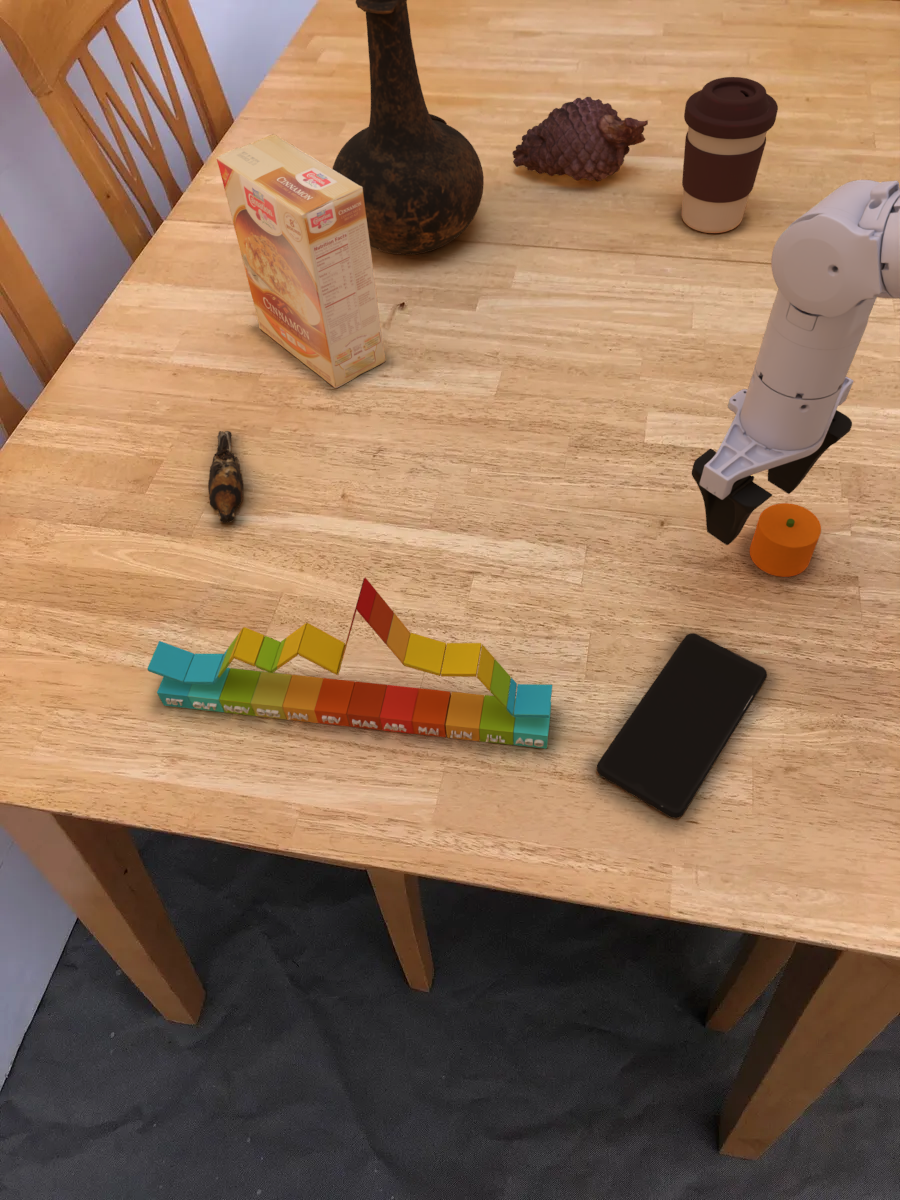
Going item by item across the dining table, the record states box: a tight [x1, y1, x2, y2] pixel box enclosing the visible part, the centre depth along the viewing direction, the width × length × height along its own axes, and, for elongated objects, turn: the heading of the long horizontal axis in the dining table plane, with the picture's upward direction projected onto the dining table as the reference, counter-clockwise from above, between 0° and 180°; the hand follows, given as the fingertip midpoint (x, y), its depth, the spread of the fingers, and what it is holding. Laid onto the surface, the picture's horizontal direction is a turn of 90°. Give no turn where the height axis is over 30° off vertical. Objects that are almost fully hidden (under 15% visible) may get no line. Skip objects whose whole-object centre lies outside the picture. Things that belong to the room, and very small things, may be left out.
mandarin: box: [749, 502, 822, 578], centre depth 78 cm, size 5×5×4 cm
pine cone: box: [511, 96, 649, 183], centre depth 118 cm, size 18×10×10 cm
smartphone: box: [596, 632, 768, 819], centre depth 69 cm, size 7×1×15 cm
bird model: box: [207, 430, 244, 524], centre depth 87 cm, size 3×14×3 cm, turn 6°
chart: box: [146, 576, 553, 750], centre depth 66 cm, size 30×3×15 cm, turn 81°
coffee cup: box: [681, 76, 779, 234], centre depth 107 cm, size 10×10×15 cm
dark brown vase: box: [332, 0, 485, 256], centre depth 103 cm, size 18×18×28 cm
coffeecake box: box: [215, 133, 386, 389], centre depth 93 cm, size 15×7×20 cm, turn 40°
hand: (750, 510), depth 72 cm, fingers open, 7 cm apart
